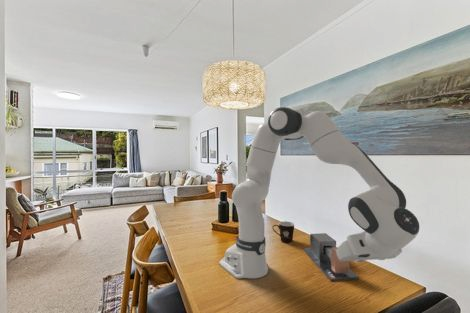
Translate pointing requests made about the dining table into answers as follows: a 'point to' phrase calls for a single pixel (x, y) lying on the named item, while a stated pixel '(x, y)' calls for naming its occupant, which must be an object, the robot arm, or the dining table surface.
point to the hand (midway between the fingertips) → (358, 259)
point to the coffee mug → (285, 231)
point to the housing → (326, 257)
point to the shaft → (336, 260)
